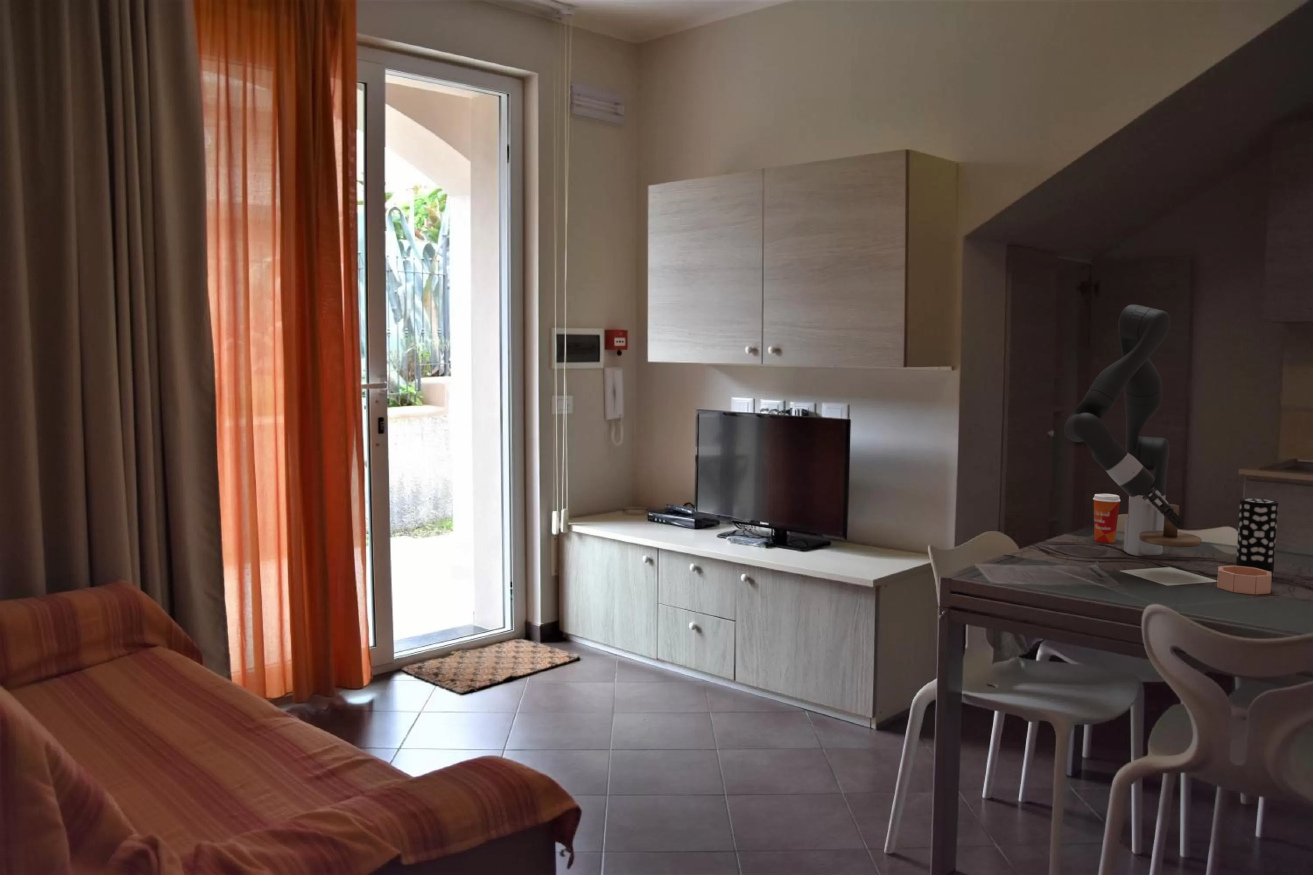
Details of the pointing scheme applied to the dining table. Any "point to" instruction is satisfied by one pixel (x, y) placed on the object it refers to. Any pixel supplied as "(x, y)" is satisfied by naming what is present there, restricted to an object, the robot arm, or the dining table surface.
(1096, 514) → the paper cup
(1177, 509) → the walnut lid
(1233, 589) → the terracotta bowl
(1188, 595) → the dining table surface
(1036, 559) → the dining table surface
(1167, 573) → the rubber mat
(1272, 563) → the spotted tube
